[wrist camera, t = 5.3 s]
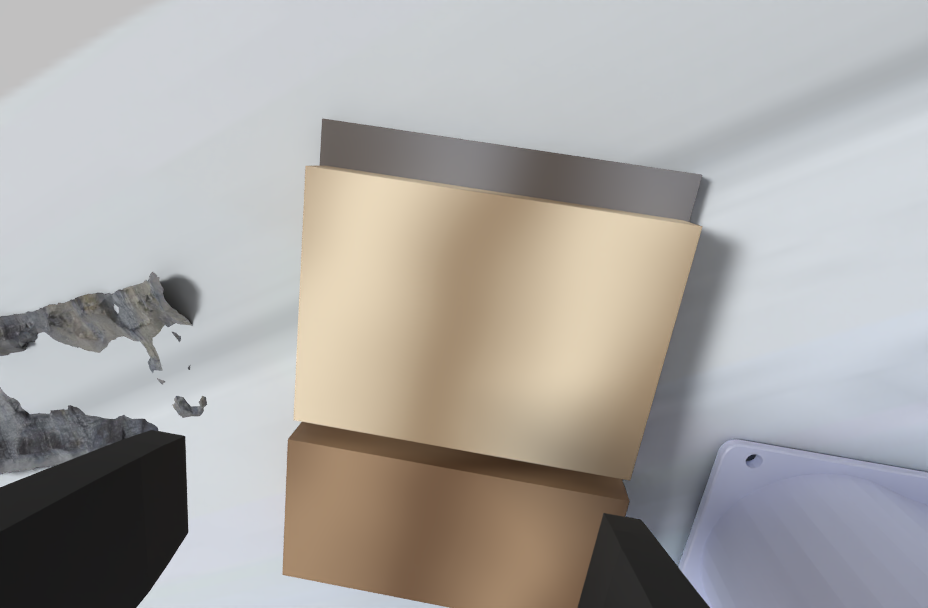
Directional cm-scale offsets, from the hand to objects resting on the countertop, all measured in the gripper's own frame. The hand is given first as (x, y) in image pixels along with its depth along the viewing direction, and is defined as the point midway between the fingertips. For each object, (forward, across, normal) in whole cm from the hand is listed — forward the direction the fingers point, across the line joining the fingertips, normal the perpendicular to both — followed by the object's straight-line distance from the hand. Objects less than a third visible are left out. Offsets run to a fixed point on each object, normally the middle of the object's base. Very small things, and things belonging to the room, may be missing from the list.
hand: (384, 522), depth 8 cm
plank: (+8, -1, -1) cm, 8 cm away
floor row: (+8, -1, +1) cm, 9 cm away
